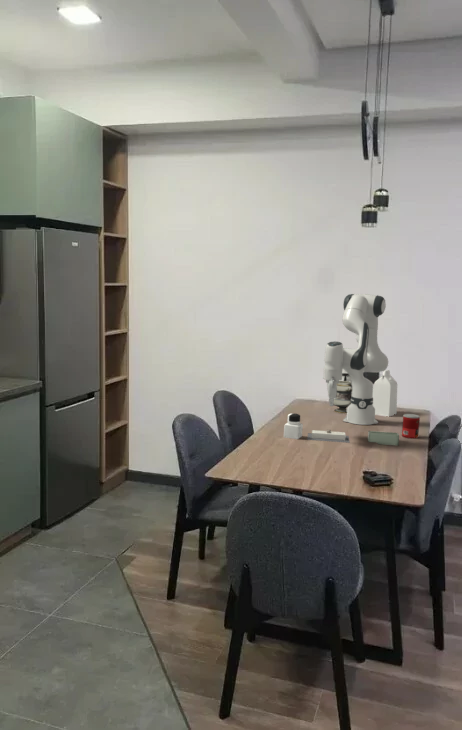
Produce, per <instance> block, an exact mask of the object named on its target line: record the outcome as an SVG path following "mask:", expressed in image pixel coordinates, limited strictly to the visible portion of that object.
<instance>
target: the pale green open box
mask: <svg viewBox="0 0 462 730" xmlns="http://www.w3.org/2000/svg"><path fill="white" fill-rule="evenodd" d="M367 441H368V443H376V444H377V445H388V446H399V441H400V434H399V433H398V432H391V431H378V430H377V431H374V430H368V432H367Z"/></svg>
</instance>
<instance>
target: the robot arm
mask: <svg viewBox="0 0 462 730" xmlns="http://www.w3.org/2000/svg"><path fill="white" fill-rule="evenodd" d="M342 303H343V311H344V312H343V315H342V324H343V327H344V328H346V330H348V331H349V332H351V333H353V334H355V340H356V342H357V347H356V348H347V347H346V348H345V347H344V345H343V343H342V341H341V342H340V341H329V342H327V343H326V346H325V350H324V360H323V361H324V366H323V377H322V379H324V380H325V383H326V387H327V388H326V389H327V390H326V391H327V394H328V395H327V396H328V402H329V406H330V407H334V406H335V405H334V398H336V393H337V383H339V380H342V368H343V369H344V370H345V371H346V372H347V373H348V374H349V375H350V377H351V380H352V396H351V404H350V405H349V406H348V407H347V408H346V409H347V411H346V412H347V413H346V415H345V417H344V418H343V420H342V422H346V423H349V424H354V425H360V426H361V425H363V426H367V425H375V424H376V425H377V424H379V421H378V420H377V419H376V415H375V408H374V407H373V405H372V404H373V386H374V383H373V382H372V381H371V380H370V379H368V378H367V377H365V376H364V373H381V372H382V373H383V371H385V370H387V368H388V366H389V359H388V356H387V355H386V354H385V353H384V352H383V351H382V350H381V348H380V346H379V343H378V329H379V316H382V315H383V314H384V313H385V310H386V305H387V304H386V299H385V297H383V296H381V295H379V294H377V295H374V294H368V293H367V294H366V293H365V294H363V293H360V294H359V293H357V294H355V293H350V294H347V295H346V296H345V297H344V300H343V302H342Z"/></svg>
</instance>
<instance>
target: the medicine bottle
mask: <svg viewBox="0 0 462 730" xmlns="http://www.w3.org/2000/svg"><path fill="white" fill-rule="evenodd" d="M283 426H284V427H283V438H286V439H294V440H299V439H300V438H302V437H303V427H304V424H303V423H301V415H300V414H299V413H289V414H287V422H286V423H285V424H284V425H283Z"/></svg>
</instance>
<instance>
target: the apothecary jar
mask: <svg viewBox="0 0 462 730" xmlns="http://www.w3.org/2000/svg"><path fill="white" fill-rule="evenodd" d="M351 392H352V385H351V382H349V381H339V383H337V393H336V398H335V399H334V405H333V406H336V407H337V408H335V409H334V411H333V412H334V413H339V414H347V412H346V411H347V408H348V406H349V405H350V404H351Z"/></svg>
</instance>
